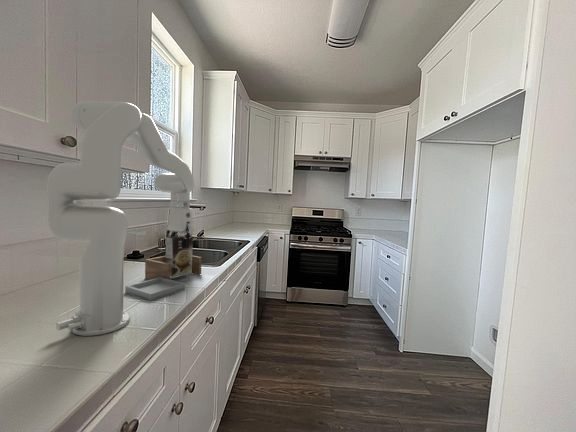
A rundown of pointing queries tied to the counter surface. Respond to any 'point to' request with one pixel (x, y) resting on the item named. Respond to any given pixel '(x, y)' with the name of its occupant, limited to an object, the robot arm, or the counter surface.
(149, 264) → the brown open box
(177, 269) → the coffee box
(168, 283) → the tray
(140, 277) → the counter surface
